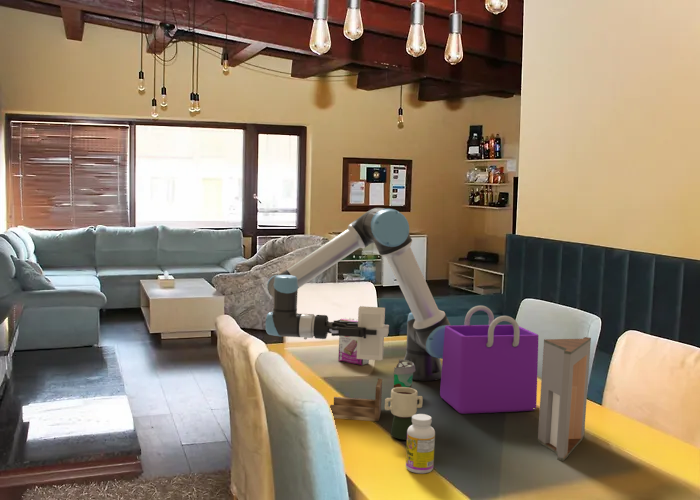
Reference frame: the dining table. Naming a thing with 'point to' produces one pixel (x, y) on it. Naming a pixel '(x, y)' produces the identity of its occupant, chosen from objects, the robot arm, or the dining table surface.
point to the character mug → (402, 409)
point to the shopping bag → (489, 366)
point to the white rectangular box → (371, 344)
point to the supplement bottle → (420, 444)
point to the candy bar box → (349, 348)
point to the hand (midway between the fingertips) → (388, 330)
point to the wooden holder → (358, 407)
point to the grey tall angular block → (563, 394)
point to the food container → (403, 373)
